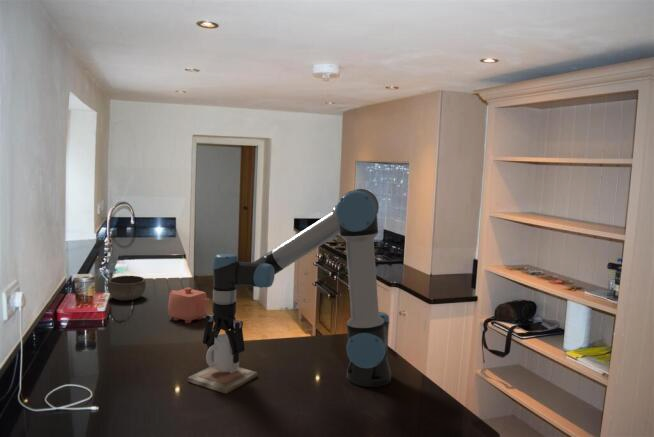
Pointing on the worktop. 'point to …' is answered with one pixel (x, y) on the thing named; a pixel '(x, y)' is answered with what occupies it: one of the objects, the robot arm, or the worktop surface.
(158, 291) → the worktop surface
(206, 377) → the board
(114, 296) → the bowl
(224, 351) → the mug
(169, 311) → the teapot
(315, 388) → the worktop surface
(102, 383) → the worktop surface
